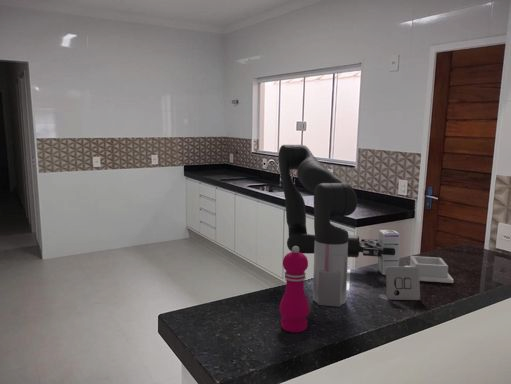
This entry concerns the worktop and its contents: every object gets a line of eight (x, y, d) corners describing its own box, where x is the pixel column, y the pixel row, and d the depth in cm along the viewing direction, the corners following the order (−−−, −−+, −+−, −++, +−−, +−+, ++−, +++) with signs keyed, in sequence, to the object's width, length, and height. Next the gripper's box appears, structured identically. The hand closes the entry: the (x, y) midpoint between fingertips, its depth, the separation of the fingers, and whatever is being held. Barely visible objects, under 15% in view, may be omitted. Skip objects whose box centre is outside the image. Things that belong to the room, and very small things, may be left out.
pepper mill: (272, 326, 101) (274, 245, 98) (292, 317, 106) (293, 240, 103) (295, 336, 96) (297, 251, 93) (315, 326, 101) (317, 246, 98)
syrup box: (398, 275, 140) (401, 233, 139) (381, 275, 140) (383, 233, 139) (393, 270, 146) (395, 229, 144) (376, 270, 146) (378, 229, 144)
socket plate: (453, 283, 133) (454, 267, 132) (410, 280, 136) (411, 265, 135) (443, 270, 146) (444, 256, 145) (404, 268, 148) (405, 254, 148)
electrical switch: (387, 300, 118) (388, 268, 118) (382, 295, 123) (382, 264, 123) (420, 301, 118) (421, 268, 117) (414, 296, 123) (415, 265, 123)
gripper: (345, 240, 138) (396, 242, 135) (344, 231, 151) (391, 233, 148) (344, 262, 139) (395, 265, 135) (344, 251, 152) (390, 253, 149)
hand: (393, 248), depth 142 cm, fingers open, 8 cm apart
